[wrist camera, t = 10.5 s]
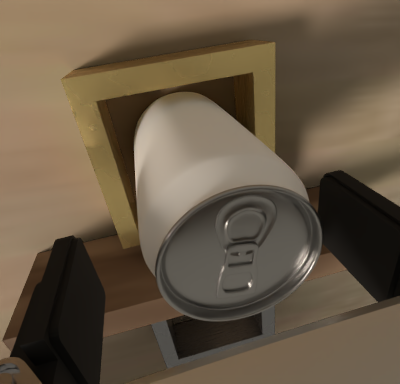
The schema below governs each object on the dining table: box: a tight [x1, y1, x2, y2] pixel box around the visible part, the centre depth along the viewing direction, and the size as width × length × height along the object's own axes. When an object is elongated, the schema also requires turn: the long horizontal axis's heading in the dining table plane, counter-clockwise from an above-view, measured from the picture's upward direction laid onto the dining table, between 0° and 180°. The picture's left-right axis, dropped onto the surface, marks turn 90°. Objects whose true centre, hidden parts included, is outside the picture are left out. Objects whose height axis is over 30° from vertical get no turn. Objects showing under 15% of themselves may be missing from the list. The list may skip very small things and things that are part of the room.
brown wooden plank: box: [2, 186, 347, 352], centre depth 20 cm, size 2×24×7 cm, turn 98°
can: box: [134, 92, 323, 321], centre depth 14 cm, size 6×6×12 cm
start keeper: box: [151, 305, 275, 369], centre depth 26 cm, size 10×10×4 cm
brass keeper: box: [61, 40, 275, 249], centre depth 18 cm, size 10×10×4 cm
